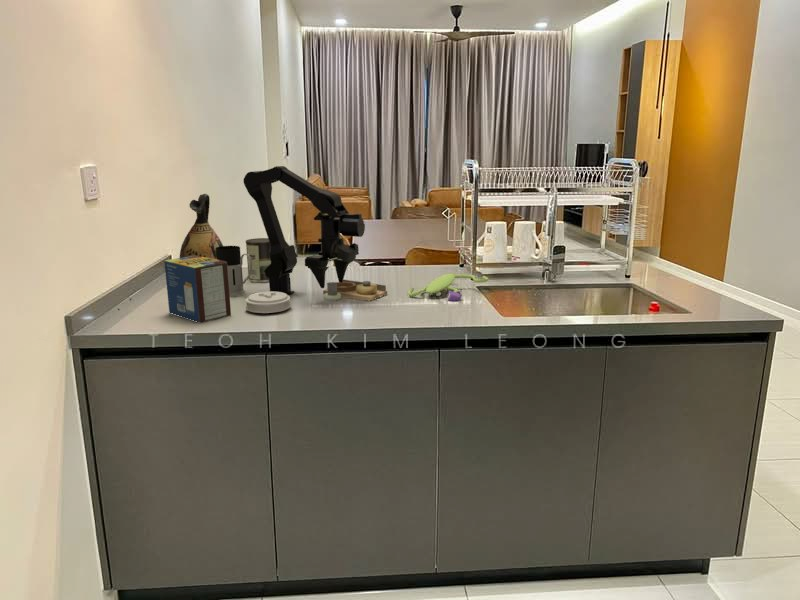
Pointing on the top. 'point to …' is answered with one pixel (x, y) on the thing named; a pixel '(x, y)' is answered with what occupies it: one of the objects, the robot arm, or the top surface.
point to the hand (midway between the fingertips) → (331, 285)
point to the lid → (268, 302)
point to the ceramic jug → (201, 232)
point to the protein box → (198, 288)
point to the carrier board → (360, 290)
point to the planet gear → (332, 292)
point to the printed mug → (258, 258)
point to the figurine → (445, 286)
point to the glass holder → (233, 268)
